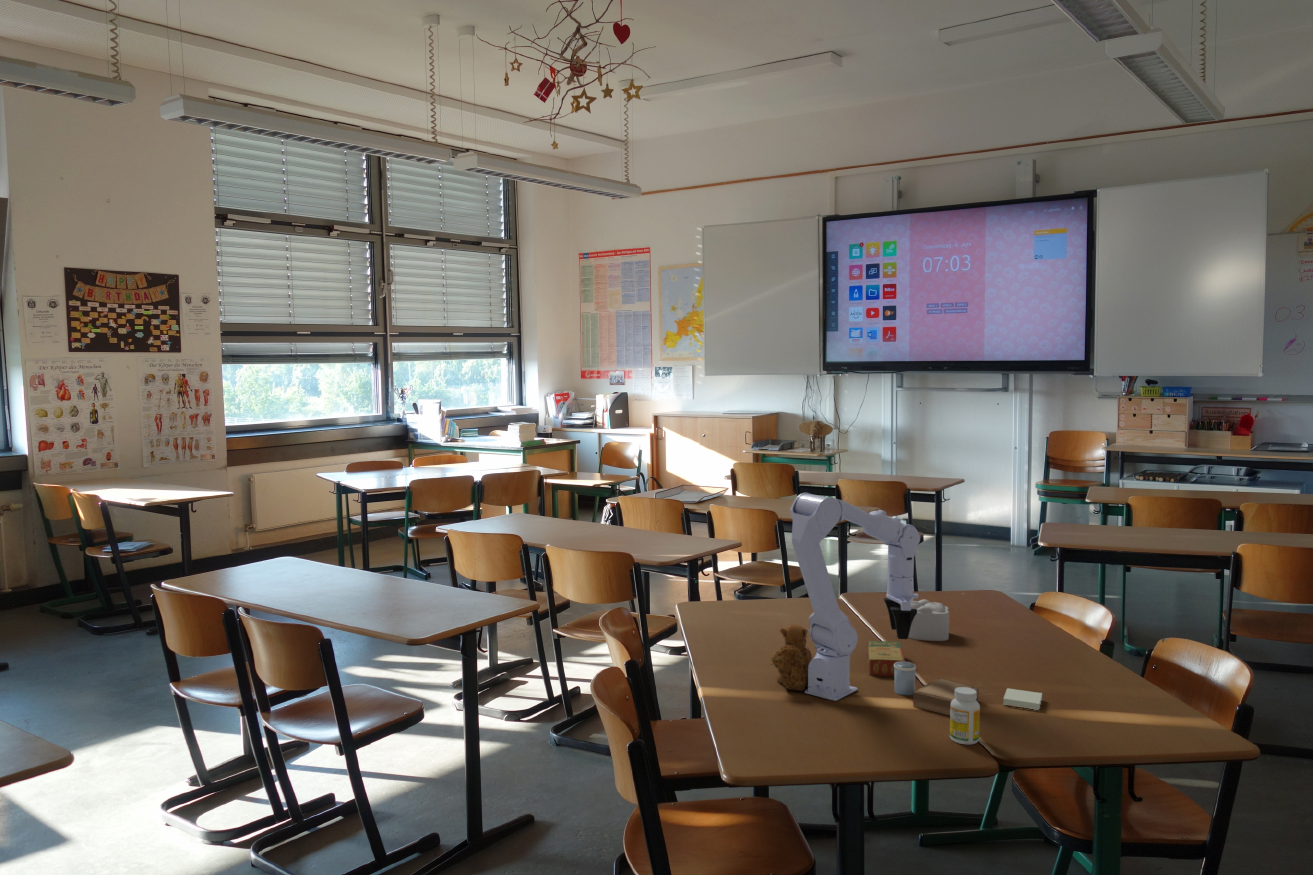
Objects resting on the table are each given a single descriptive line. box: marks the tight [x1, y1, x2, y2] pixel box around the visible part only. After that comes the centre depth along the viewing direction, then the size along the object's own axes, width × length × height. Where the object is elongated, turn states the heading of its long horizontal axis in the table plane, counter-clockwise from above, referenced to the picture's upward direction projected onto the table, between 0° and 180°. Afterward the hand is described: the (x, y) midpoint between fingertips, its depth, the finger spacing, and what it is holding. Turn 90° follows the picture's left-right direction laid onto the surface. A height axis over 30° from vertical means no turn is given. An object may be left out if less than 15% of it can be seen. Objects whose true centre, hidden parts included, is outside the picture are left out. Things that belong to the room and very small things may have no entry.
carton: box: [866, 640, 906, 677], centre depth 222 cm, size 8×16×4 cm, turn 169°
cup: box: [893, 661, 917, 696], centre depth 204 cm, size 5×5×6 cm
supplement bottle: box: [949, 687, 981, 746], centre depth 177 cm, size 5×5×10 cm
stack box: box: [912, 677, 980, 716], centre depth 196 cm, size 12×9×3 cm
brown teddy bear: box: [770, 623, 813, 692], centre depth 208 cm, size 10×14×13 cm
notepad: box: [1002, 687, 1043, 711], centre depth 197 cm, size 7×7×2 cm
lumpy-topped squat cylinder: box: [908, 598, 950, 642], centre depth 247 cm, size 10×13×9 cm
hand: (899, 633), depth 212 cm, fingers open, 7 cm apart
